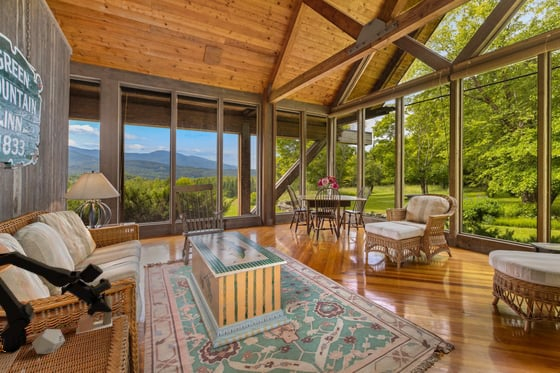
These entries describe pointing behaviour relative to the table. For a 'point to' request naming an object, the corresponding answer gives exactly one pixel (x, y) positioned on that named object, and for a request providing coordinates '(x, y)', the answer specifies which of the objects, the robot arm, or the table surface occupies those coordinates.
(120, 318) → the table surface
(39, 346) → the die
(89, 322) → the cube
